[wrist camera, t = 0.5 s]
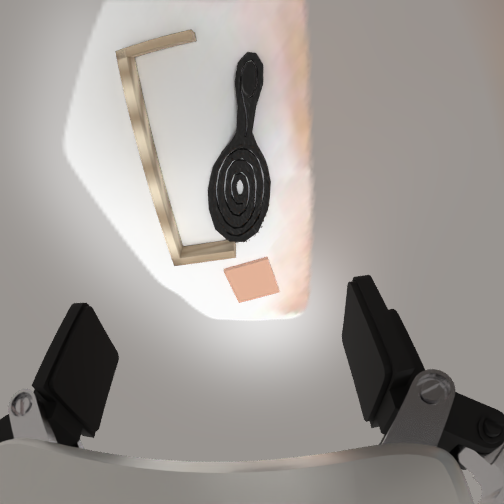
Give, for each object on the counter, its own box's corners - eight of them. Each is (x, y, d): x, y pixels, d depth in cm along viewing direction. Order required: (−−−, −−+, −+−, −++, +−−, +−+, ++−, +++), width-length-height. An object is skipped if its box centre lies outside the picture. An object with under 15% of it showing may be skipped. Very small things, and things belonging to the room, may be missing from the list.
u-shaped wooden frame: (124, 51, 30) (115, 51, 27) (194, 32, 29) (191, 29, 27) (177, 254, 47) (174, 266, 44) (235, 245, 46) (235, 257, 44)
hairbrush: (289, 54, 29) (266, 247, 42) (284, 57, 32) (264, 234, 45) (214, 48, 29) (204, 244, 42) (217, 51, 32) (207, 231, 45)
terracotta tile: (224, 267, 49) (223, 271, 48) (267, 254, 48) (267, 259, 47) (239, 297, 53) (239, 302, 52) (278, 287, 52) (279, 292, 51)
